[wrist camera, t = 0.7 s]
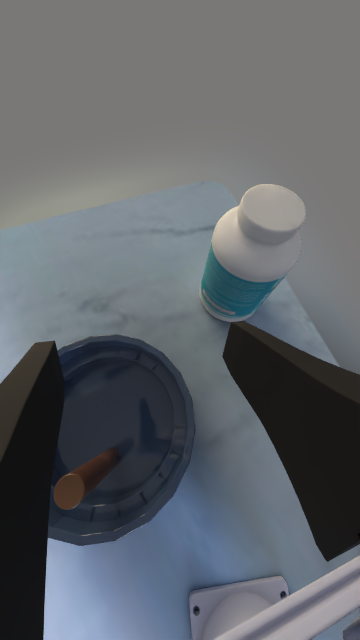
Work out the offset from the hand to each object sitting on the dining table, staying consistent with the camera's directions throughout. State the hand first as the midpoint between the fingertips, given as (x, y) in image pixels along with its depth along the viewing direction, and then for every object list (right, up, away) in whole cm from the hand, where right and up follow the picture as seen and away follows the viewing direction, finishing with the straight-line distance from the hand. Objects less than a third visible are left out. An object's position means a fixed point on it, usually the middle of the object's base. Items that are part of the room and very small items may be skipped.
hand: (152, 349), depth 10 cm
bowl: (-6, -9, +13) cm, 17 cm away
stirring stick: (-5, -11, +12) cm, 17 cm away
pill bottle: (+7, +4, +19) cm, 21 cm away
